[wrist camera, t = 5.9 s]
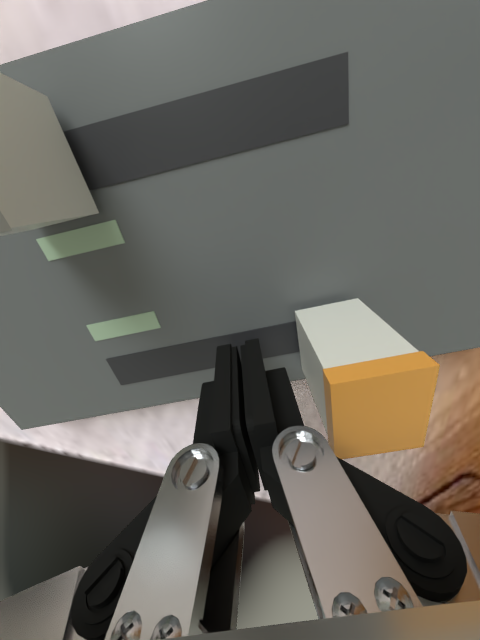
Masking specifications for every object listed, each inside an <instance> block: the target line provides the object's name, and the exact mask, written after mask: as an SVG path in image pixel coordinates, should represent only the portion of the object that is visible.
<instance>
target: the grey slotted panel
mask: <svg viewBox="0 0 480 640" xmlns="http://www.w3.org/2000/svg"><path fill="white" fill-rule="evenodd" d="M0 73H2V74H4V75H6V76H8V77H10V78H12V79H14V80H16V81H18V82H20V83H22V84H24V85H26V86H28V87H30V88H32V89H34V90H36V91H38V92H40V93H42V94H44V95H46V96H47V97H48V99H49V101H50V104H51V106H52V108H53V110H54V113H55V115H56V117H57V119H58V122H59V124H60V126H61V128H62V131H63V133H64V135H65V137H66V140H67V142H68V144H69V146H70V148H71V151H72V153H73V155H74V157H75V160H76V162H77V164H78V166H79V169H80V171H81V173H82V175H83V178H84V180H85V182H86V184H87V187H88V189H89V191H90V193H91V196H92V198H93V200H94V202H95V205H96V207H97V209H98V211H99V213H97V214H93V215H89V216H85V217H81V218H77V219H73V220H69V221H65V222H61V223H57V224H53V225H49V226H45V227H41V228H37V229H33V230H29V231H24V232H19V233H14V234H9V235H4V236H0V407H1V408H2V409H3V410H4V411H5V412H6V413H7V415H8V416H9V417H10V418H11V419H12V420H13V421H14V422H15V423H16V424H17V425H18V426H19V427H20V428H21V430H23V429H29V428H34V427H40V426H45V425H51V424H57V423H62V422H68V421H73V420H79V419H84V418H90V417H95V416H101V415H106V414H112V413H118V412H123V411H129V410H134V409H140V408H145V407H151V406H156V405H162V404H168V403H173V402H179V401H184V400H190V399H195V398H200V393H201V387H202V384H203V383H205V382H210V381H214V374H215V363H216V351H217V346H221V345H226V344H231V345H232V347H235V346H237V348H238V352H239V356H240V360H241V348H240V345H245V341H246V340H251V339H256V338H259V343H260V348H261V353H262V358H263V362H264V367H265V371H267V370H273V369H278V368H283V367H285V368H286V371H287V374H288V377H289V380H290V381H295V380H301V379H306V378H305V375H304V373H303V370H302V365H301V357H300V349H299V341H298V333H297V326H296V318H295V311H297V310H302V309H307V308H312V307H317V306H322V305H326V304H331V303H336V302H341V301H346V300H351V299H356V298H358V299H359V300H360V301H362V302H363V303H364V304H365V305H366V306H367V307H369V308H370V309H371V310H372V311H373V312H374V313H375V314H377V315H378V316H379V317H380V318H381V319H382V320H383V321H385V322H386V323H387V324H388V325H389V326H390V327H392V328H393V329H394V330H395V331H396V332H397V333H398V334H400V335H401V336H402V337H403V338H404V339H405V340H407V341H408V342H409V343H410V344H411V345H412V346H413V347H415V348H416V349H417V350H418V351H424V352H425V353H426V354H427V355H428V356H434V355H439V354H445V353H451V352H456V351H462V350H467V349H473V348H478V347H480V0H207V1H204V2H201V3H198V4H194V5H191V6H188V7H185V8H181V9H178V10H175V11H172V12H169V13H165V14H162V15H159V16H156V17H153V18H149V19H146V20H143V21H140V22H136V23H133V24H130V25H127V26H124V27H120V28H117V29H114V30H111V31H108V32H104V33H101V34H98V35H95V36H92V37H88V38H85V39H82V40H79V41H75V42H72V43H69V44H66V45H63V46H59V47H56V48H53V49H50V50H47V51H43V52H40V53H37V54H34V55H30V56H27V57H24V58H21V59H18V60H14V61H11V62H8V63H5V64H2V65H0ZM241 364H242V363H241Z"/></svg>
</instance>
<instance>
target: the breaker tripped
mask: <svg viewBox="0 0 480 640" xmlns="http://www.w3.org/2000/svg"><path fill="white" fill-rule="evenodd" d="M295 318H296V326H297V333H298V341H299V349H300V357H301V365H302V370H303V373H304V375H305V378H306V381H307V383H308V386H309V388H310V391H311V394H312V396H313V399H314V401H315V404H316V407H317V409H318V412H319V414H320V417H321V420H322V422H323V425H324V428H325V430H326V433H327V435H328V443H329V445H330V447H331V449H332V451H333V452H334V454H335V456H336V457H338V458H340V459H347V458H354V457H360V456H367V455H373V454H380V453H387V452H393V451H400V450H406V449H413V448H419V447H423V446H424V441H425V436H426V431H427V426H428V421H429V417H430V412H431V407H432V402H433V397H434V392H435V387H436V382H437V377H438V372H439V367H440V365H439V364H438V363H437V362H435V361H434V360H433V359H432V358H431V357H429V356H428V355H427V354H426V353H425V352H424V351H418V350H417V349H416V348H415V347H413V346H412V345H411V344H410V343H409V342H408V341H407V340H405V339H404V338H403V337H402V336H401V335H400V334H398V333H397V332H396V331H395V330H394V329H393V328H392V327H390V326H389V325H388V324H387V323H386V322H385V321H383V320H382V319H381V318H380V317H379V316H378V315H377V314H375V313H374V312H373V311H372V310H371V309H370V308H369V307H367V306H366V305H365V304H364V303H363V302H362V301H360V300H359V299H358V298H356V299H351V300H346V301H341V302H336V303H331V304H326V305H322V306H317V307H312V308H307V309H302V310H297V311H295Z"/></svg>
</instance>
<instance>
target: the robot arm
mask: <svg viewBox="0 0 480 640" xmlns="http://www.w3.org/2000/svg"><path fill="white" fill-rule="evenodd" d="M240 348H241V360H240V356H239V352H238V348H237V346H235V347H232V345H231V344H226V345H221V346H217V351H216V363H215V374H214V381H210V382H205V383H203V384H202V387H201V393H200V400H199V406H198V413H197V420H196V427H195V433H194V440H193V444H192V445H189V446H187V447H185V448H183V449H182V450H181V451H180V452H178V453H177V454H176V455H175V457H174V458H173V459H172V460H171V462H170V464H169V466H168V468H167V470H166V473H165V476H164V479H163V482H162V484H161V487H160V489H159V492H158V495H157V496H156V497H155V498H154V499H153V500H152V501H151V502H150V503H149V504H148V505H147V506H146V507H145V508H144V509H143V510H142V511H141V512H140V513H139V514H138V515H137V516H136V517H135V519H133V521H132V522H131V523H130V524H129V525H128V526H127V527H126V528H125V529H124V530H123V531H122V532H121V533H120V534H119V535H118V536H117V537H116V538H115V539H114V540H113V541H112V542H111V543H110V544H109V545H108V546H107V547H106V548H105V549H104V550H103V551H102V552H101V553H100V554H99V555H98V556H97V557H96V558H95V560H94V561H93V562H92V563H91V565H90V566H89V567H87V568H85V569H83V568H82V567H81V566H79V567H77V568H74V569H72V570H70V571H67V572H65V573H63V574H61V575H58V576H56V577H54V578H52V579H49V580H47V581H45V582H42V583H40V584H38V585H36V586H33V587H31V588H29V589H27V590H24V591H22V592H20V593H17V594H15V595H13V596H11V597H8V598H6V599H4V600H2V601H0V640H480V514H478V513H468V512H459V511H451V513H450V515H447V514H438V513H434V512H433V511H431V510H430V509H429V508H427V507H426V506H424V505H422V504H420V503H418V502H417V501H415V500H413V499H411V498H409V497H408V496H406V495H404V494H402V493H401V492H399V491H397V490H395V489H393V488H392V487H390V486H388V485H386V484H384V483H383V482H381V481H379V480H377V479H376V478H374V477H372V476H370V475H368V474H367V473H365V472H363V471H361V470H359V469H358V468H356V467H354V466H352V465H351V464H349V463H347V462H345V461H343V460H342V459H340V458H338V457H336V456H335V454H334V452H333V451H332V449H331V447H330V445H329V444H328V442H327V441H326V439H325V438H324V437H323V436H322V434H320V433H319V432H317V431H316V430H315V429H312V428H309V427H307V426H304V424H303V421H302V418H301V415H300V411H299V408H298V405H297V402H296V399H295V396H294V393H293V390H292V387H291V383H290V380H289V377H288V374H287V371H286V368H285V367H283V368H278V369H273V370H267V371H265V367H264V362H263V358H262V353H261V348H260V343H259V338H256V339H251V340H246V341H245V345H240ZM241 363H242V364H241ZM258 469H259V473H260V476H261V480H262V483H263V487H264V490H268V492H269V496H270V499H271V503H272V506H273V508H274V509H275V510H276V511H277V512H279V513H280V514H281V515H282V516H283V517H284V518H286V519H287V520H288V522H289V526H290V529H291V532H292V535H293V538H294V542H295V545H296V548H297V551H298V554H299V558H300V561H301V564H302V567H303V570H304V574H305V577H306V580H307V583H308V587H309V590H310V593H311V596H312V599H313V603H314V606H315V609H316V612H317V616H318V620H310V621H302V622H293V623H286V624H278V625H270V626H262V627H254V628H246V629H238V630H237V618H238V605H239V592H240V577H241V566H242V553H243V540H244V521H245V520H246V518H247V517H248V515H249V514H250V512H251V504H255V495H254V492H258V491H260V483H259V473H258Z"/></svg>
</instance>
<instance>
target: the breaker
mask: <svg viewBox="0 0 480 640" xmlns="http://www.w3.org/2000/svg"><path fill="white" fill-rule="evenodd" d="M97 213H99V211H98V209H97V207H96V205H95V202H94V200H93V198H92V196H91V193H90V191H89V189H88V187H87V184H86V182H85V180H84V178H83V175H82V173H81V171H80V169H79V166H78V164H77V162H76V160H75V157H74V155H73V153H72V151H71V148H70V146H69V144H68V142H67V140H66V137H65V135H64V133H63V131H62V128H61V126H60V124H59V122H58V119H57V117H56V115H55V113H54V110H53V108H52V106H51V104H50V101H49V99H48V97H47V96H46V95H44V94H42V93H40V92H38V91H36V90H34V89H32V88H30V87H28V86H26V85H24V84H22V83H20V82H18V81H16V80H14V79H12V78H10V77H8V76H6V75H4V74H2V73H0V236H4V235H9V234H14V233H19V232H24V231H29V230H33V229H37V228H41V227H45V226H49V225H53V224H57V223H61V222H65V221H69V220H73V219H77V218H81V217H85V216H89V215H93V214H97Z"/></svg>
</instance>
